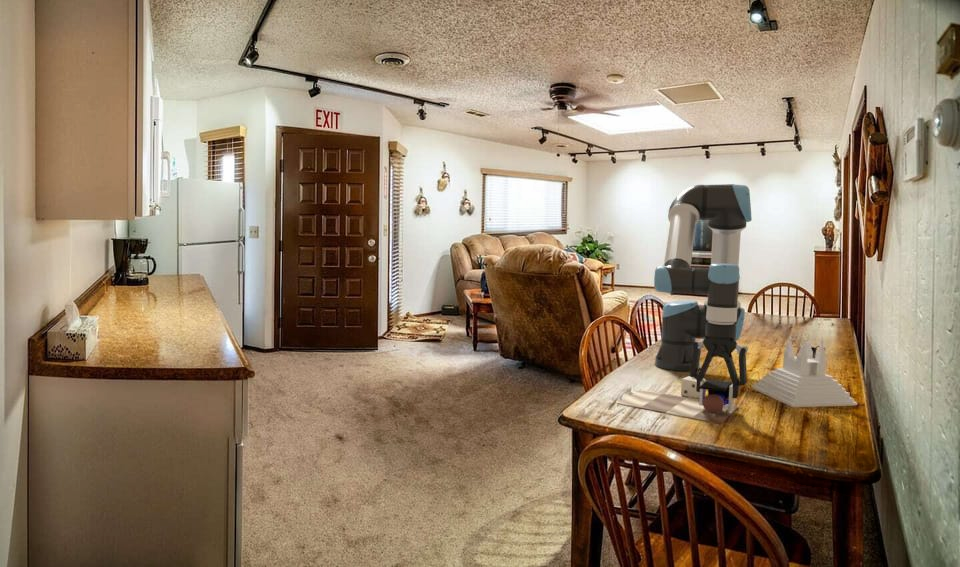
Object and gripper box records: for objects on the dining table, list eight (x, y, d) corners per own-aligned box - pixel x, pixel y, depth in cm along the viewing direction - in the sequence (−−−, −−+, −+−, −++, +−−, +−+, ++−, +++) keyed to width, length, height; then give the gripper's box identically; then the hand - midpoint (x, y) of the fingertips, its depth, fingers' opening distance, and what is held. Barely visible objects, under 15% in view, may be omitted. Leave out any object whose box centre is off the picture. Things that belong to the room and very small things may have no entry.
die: (687, 392, 187) (688, 375, 186) (704, 395, 184) (705, 378, 183) (680, 395, 183) (681, 378, 183) (697, 399, 180) (698, 382, 179)
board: (640, 390, 188) (640, 389, 188) (738, 407, 171) (738, 406, 171) (616, 403, 173) (616, 402, 173) (720, 424, 157) (720, 423, 157)
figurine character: (707, 404, 174) (696, 412, 161) (709, 377, 174) (699, 382, 161) (733, 408, 171) (724, 416, 158) (735, 380, 171) (727, 386, 158)
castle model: (792, 408, 173) (796, 343, 171) (751, 388, 193) (755, 330, 191) (856, 406, 176) (862, 342, 174) (810, 387, 196) (814, 330, 194)
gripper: (764, 324, 161) (758, 410, 163) (688, 316, 173) (683, 397, 175) (757, 328, 155) (752, 417, 157) (679, 319, 167) (675, 403, 169)
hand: (716, 406), depth 166 cm, fingers closed on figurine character, 7 cm apart
